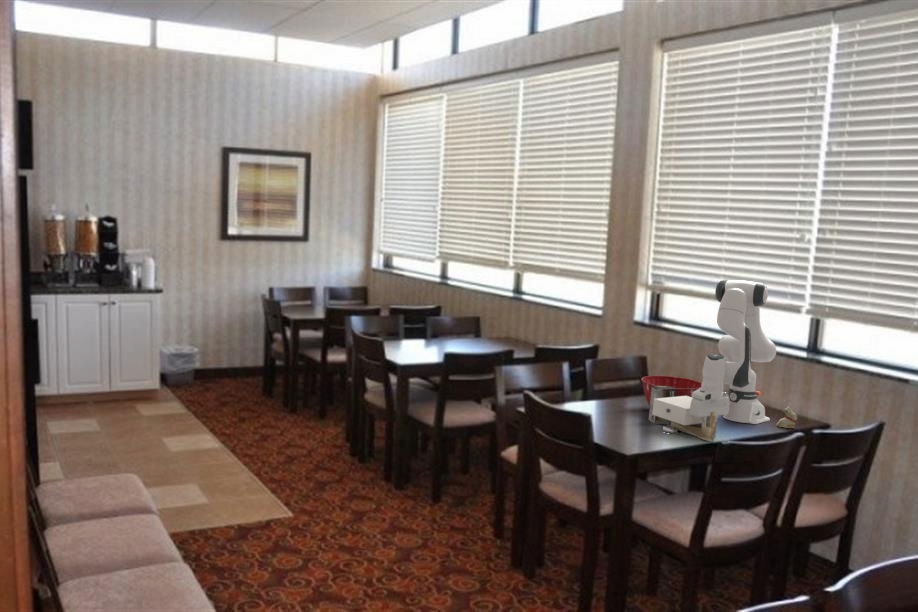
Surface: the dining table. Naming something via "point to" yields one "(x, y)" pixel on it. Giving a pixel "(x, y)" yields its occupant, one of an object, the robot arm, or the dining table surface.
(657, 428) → the dining table surface
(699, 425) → the cabinet
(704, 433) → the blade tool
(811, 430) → the dining table surface
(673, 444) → the dining table surface
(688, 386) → the mixing bowl
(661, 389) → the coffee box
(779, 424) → the chocolate bunny
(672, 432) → the steel token
